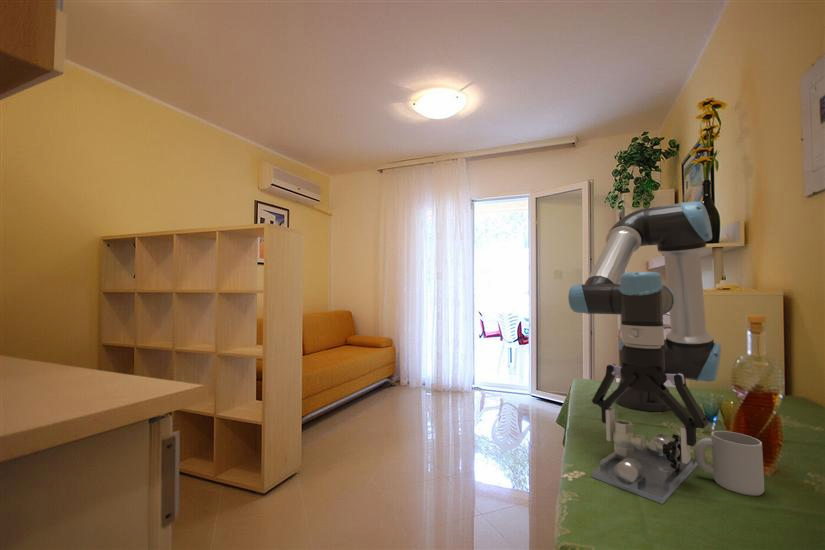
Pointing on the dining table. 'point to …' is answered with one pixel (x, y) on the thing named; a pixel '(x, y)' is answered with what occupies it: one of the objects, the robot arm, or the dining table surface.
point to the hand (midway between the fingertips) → (645, 449)
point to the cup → (733, 461)
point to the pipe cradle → (644, 472)
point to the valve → (644, 443)
